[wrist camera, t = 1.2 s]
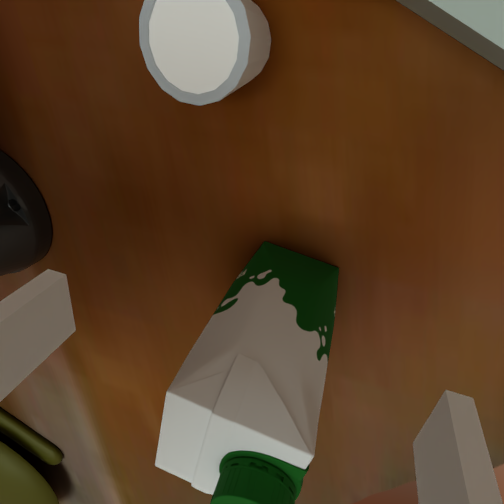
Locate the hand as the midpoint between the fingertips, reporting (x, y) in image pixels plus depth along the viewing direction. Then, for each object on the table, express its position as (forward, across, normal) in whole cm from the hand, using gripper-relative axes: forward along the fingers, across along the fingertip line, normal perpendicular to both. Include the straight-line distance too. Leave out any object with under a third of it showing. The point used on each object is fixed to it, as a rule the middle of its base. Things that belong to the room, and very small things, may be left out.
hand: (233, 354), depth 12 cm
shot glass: (+20, -8, +9) cm, 23 cm away
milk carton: (+20, 0, -10) cm, 23 cm away
